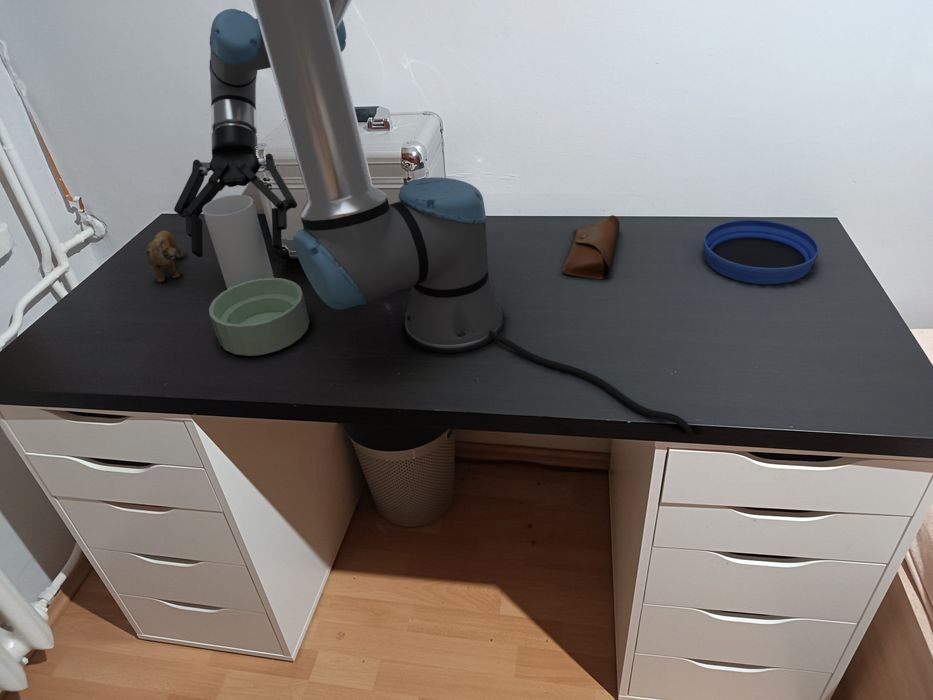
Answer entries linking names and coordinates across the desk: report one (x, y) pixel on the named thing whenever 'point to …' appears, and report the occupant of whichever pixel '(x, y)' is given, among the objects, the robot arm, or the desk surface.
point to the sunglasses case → (593, 249)
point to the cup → (237, 239)
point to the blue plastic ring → (760, 251)
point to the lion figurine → (163, 253)
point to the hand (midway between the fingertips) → (237, 251)
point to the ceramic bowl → (259, 316)
